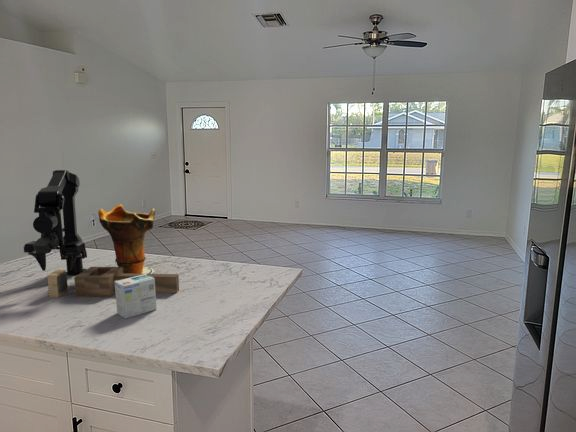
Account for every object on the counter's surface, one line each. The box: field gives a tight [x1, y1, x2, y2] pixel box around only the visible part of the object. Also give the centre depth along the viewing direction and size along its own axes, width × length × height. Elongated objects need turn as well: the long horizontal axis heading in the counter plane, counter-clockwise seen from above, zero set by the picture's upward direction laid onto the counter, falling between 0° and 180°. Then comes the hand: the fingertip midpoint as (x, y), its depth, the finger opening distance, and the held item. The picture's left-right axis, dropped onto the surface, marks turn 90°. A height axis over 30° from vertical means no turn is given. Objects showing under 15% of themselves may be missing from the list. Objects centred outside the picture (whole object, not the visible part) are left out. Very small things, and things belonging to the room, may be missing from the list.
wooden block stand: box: [73, 266, 180, 298], centre depth 152 cm, size 12×34×7 cm, turn 88°
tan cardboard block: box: [46, 269, 69, 298], centre depth 149 cm, size 6×4×8 cm, turn 178°
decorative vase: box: [98, 203, 156, 274], centre depth 170 cm, size 21×23×28 cm
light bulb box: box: [114, 274, 158, 320], centre depth 134 cm, size 11×7×11 cm, turn 135°
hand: (57, 270), depth 148 cm, fingers open, 9 cm apart
